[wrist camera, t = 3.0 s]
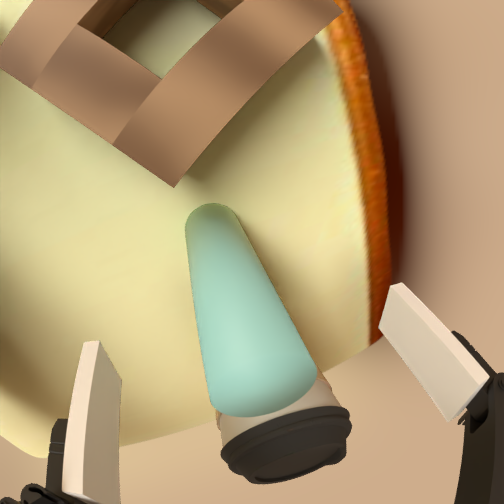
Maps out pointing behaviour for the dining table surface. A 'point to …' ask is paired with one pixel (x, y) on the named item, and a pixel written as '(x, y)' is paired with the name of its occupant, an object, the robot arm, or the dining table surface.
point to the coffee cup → (287, 437)
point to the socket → (148, 84)
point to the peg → (242, 321)
